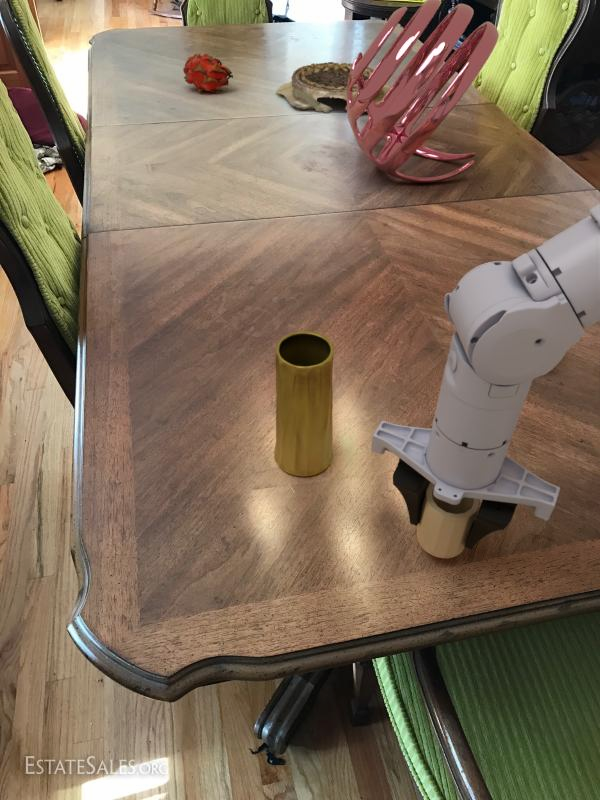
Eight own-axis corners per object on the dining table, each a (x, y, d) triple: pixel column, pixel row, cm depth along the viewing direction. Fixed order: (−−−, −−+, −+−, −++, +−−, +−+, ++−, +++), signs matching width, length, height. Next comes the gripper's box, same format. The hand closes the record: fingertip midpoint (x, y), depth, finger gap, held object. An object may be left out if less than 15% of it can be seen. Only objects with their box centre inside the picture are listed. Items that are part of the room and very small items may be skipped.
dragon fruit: (183, 94, 148) (231, 105, 148) (173, 81, 140) (223, 93, 139) (191, 57, 147) (239, 69, 146) (181, 41, 138) (232, 54, 138)
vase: (282, 483, 61) (279, 376, 51) (268, 439, 65) (263, 333, 56) (340, 470, 62) (348, 364, 52) (322, 428, 67) (327, 322, 57)
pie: (265, 82, 150) (264, 59, 147) (369, 72, 156) (371, 50, 153) (299, 122, 131) (299, 98, 127) (416, 110, 137) (419, 86, 133)
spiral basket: (565, 46, 104) (445, -72, 97) (526, 144, 90) (385, 14, 84) (456, 150, 127) (354, 60, 121) (412, 239, 114) (295, 144, 108)
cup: (472, 528, 56) (486, 487, 52) (456, 567, 53) (470, 527, 49) (426, 509, 57) (437, 468, 53) (409, 545, 55) (418, 505, 50)
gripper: (360, 420, 45) (349, 527, 54) (564, 499, 40) (513, 601, 49) (397, 365, 49) (381, 473, 59) (585, 429, 44) (534, 535, 54)
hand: (443, 527), depth 54 cm, fingers closed on cup, 4 cm apart
